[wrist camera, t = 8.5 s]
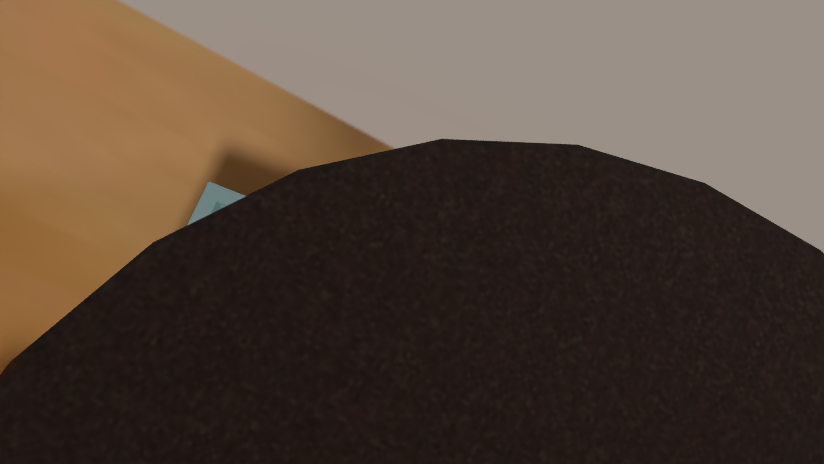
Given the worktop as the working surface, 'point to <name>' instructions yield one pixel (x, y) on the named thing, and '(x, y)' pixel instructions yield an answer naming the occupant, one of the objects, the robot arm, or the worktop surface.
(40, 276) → the worktop surface
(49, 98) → the worktop surface
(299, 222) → the deodorant
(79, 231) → the worktop surface
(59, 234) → the worktop surface
